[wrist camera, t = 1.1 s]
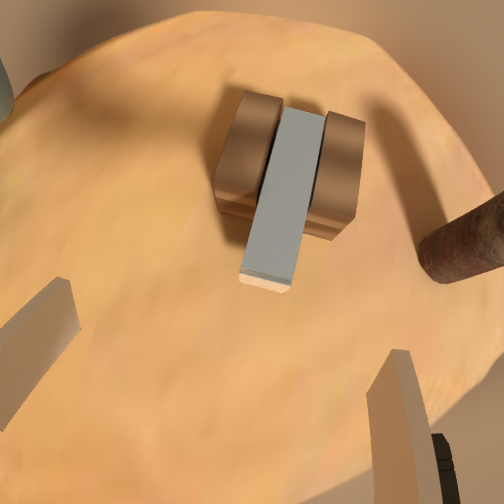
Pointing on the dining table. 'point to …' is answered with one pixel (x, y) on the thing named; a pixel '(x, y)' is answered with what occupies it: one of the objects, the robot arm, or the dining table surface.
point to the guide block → (258, 156)
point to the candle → (466, 244)
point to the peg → (283, 202)
